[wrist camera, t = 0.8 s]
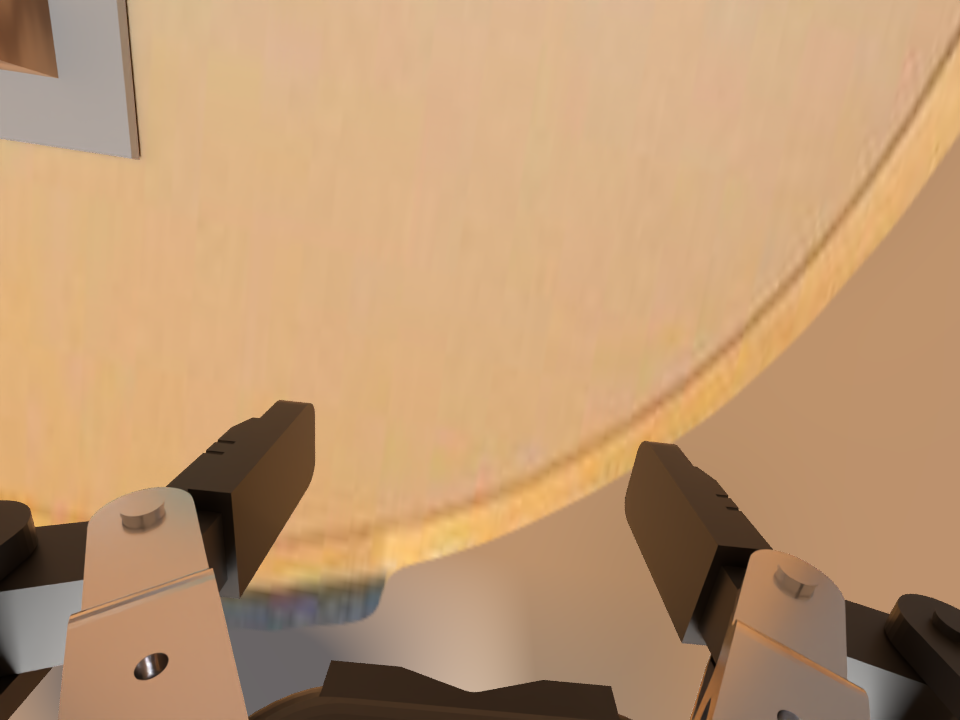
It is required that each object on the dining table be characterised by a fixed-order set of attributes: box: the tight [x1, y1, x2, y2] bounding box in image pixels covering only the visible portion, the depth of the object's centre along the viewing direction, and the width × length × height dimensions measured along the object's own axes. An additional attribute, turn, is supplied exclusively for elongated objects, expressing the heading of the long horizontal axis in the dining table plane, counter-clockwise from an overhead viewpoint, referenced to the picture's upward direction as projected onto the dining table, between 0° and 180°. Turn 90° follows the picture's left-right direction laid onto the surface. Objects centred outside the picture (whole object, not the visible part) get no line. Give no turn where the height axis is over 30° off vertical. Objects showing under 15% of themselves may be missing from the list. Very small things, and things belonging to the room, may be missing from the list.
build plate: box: [0, 0, 140, 160], centre depth 31 cm, size 14×14×1 cm
